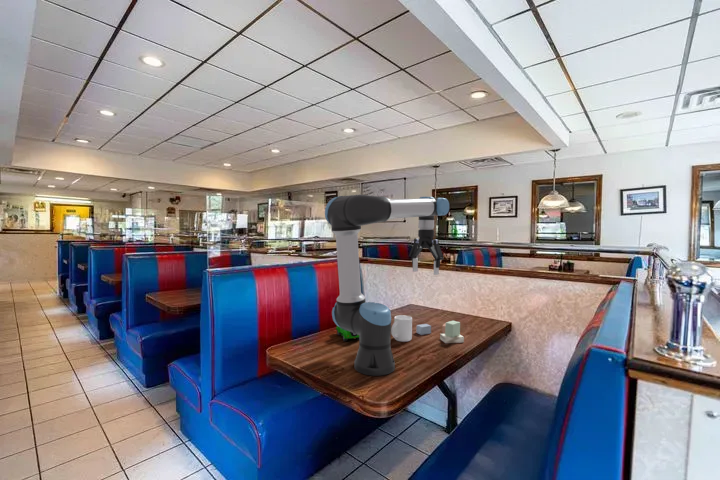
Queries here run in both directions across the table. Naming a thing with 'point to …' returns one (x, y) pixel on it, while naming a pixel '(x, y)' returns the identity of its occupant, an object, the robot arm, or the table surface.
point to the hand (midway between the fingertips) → (425, 273)
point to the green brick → (452, 328)
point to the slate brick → (423, 329)
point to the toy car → (346, 334)
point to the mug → (402, 328)
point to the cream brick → (452, 339)
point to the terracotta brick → (443, 329)
